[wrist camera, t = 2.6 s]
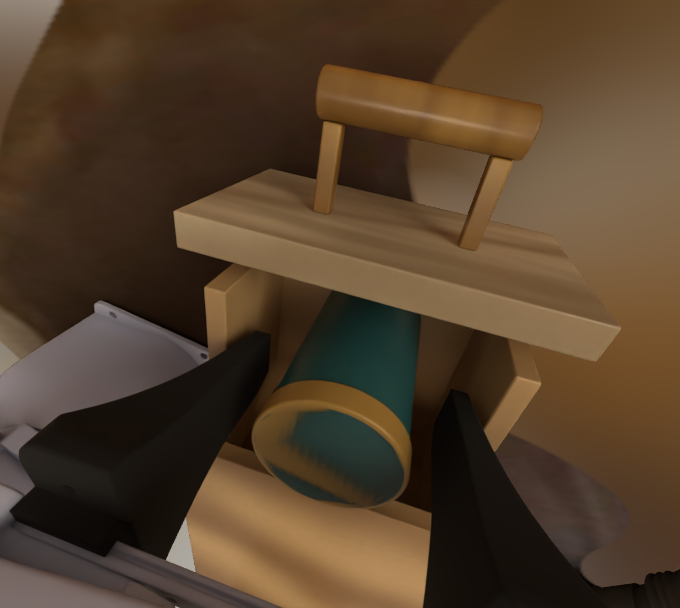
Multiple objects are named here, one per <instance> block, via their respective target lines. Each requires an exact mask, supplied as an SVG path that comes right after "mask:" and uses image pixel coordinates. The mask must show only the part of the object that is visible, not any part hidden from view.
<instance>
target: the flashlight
mask: <svg viewBox="0 0 680 608" xmlns="http://www.w3.org/2000/svg"><path fill="white" fill-rule="evenodd" d="M591 588H592V589H593V591H594V592H595V593H596V594H597V595H598V596H599V597H600V598H601V599H602V600H603V602H604V603H605V604H606V605H607V606H608V607H609V608H680V569H679V570H677V571H675V572H671V571H665V572H664V573H661V572H657V573H656V574H652V573H649V574H648V575H647V576H646V578H645V584H642V585H639V584H636V583H632V584H625V585H617V586H610V587H603V588H601V587H599V586H592V587H591Z"/></svg>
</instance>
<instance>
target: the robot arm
mask: <svg viewBox="0 0 680 608" xmlns="http://www.w3.org/2000/svg"><path fill="white" fill-rule="evenodd" d="M94 309H95V313H94V314H92V315H90V316H89V317H87V318H86V319H84V320H82V321H81V322H79V323H78V324H76V325H75V326H73V327H71V328H70V329H68V330H67V331H65V332H63V333H62V334H60V335H59V336H57V337H56V338H54V339H52V340H51V341H49V342H48V343H46V344H44V345H43V346H41V347H40V348H38V349H37V350H35V351H33V352H32V353H30V354H29V355H27V356H25V357H24V358H22V359H21V360H19V361H18V362H16V363H15V364H13V365H12V366H11V367H10V368H8V369H7V370H6V371H5V372H4V373H3V374H2V375H1V376H0V608H175V606H177V607H179V608H282V607H280V606H277V605H275V604H273V603H270V602H268V601H265V600H263V599H260V598H258V597H255V596H253V595H250V594H248V593H245V592H243V591H240V590H238V589H235V588H233V587H230V586H228V585H225V584H223V583H220V582H218V581H216V580H213V579H211V578H208V577H206V576H203V575H201V574H198V573H196V572H193V571H191V570H188V569H186V568H183V567H181V566H178V565H176V564H173V563H170V562H168V561H166V558H167V556H168V553H169V551H170V549H171V547H172V545H173V543H174V541H175V538H176V536H177V534H178V532H179V530H180V528H181V526H182V524H183V521H184V519H185V517H186V515H187V513H188V511H189V509H190V507H191V505H192V503H193V501H194V499H195V497H196V495H197V493H198V491H199V489H200V487H201V485H202V483H203V482H204V480H205V478H206V476H207V474H208V472H209V470H210V468H211V466H212V464H213V463H214V461H215V459H216V457H217V455H218V453H219V451H220V450H221V448H222V446H223V445H224V443H225V441H226V440H227V438H228V437H229V435H230V434H231V432H232V431H233V429H234V428H235V426H236V425H237V423H238V422H239V420H240V419H241V417H242V416H243V414H244V413H245V411H246V410H247V408H248V407H249V405H250V404H251V402H252V401H253V399H254V398H255V396H256V395H257V393H258V391H259V389H260V388H261V386H262V384H263V382H264V380H265V378H266V376H267V373H268V371H269V357H270V341H271V334H268V333H264V332H261V331H258V330H256V331H254V332H253V333H251V334H250V335H248V336H247V337H245V338H244V339H242V340H241V341H239V342H237V343H236V344H234V345H233V346H231V347H230V348H228V349H226V350H225V351H223V352H222V353H220V354H218V355H217V356H215V357H213V358H212V359H210V360H209V352H208V348H206V347H204V346H202V345H200V344H197V343H195V342H193V341H191V340H189V339H186V338H184V337H182V336H180V335H178V334H175V333H173V332H171V331H169V330H166V329H164V328H162V327H160V326H158V325H155V324H153V323H151V322H149V321H147V320H144V319H142V318H140V317H138V316H135V315H133V314H131V313H129V312H127V311H124V310H122V309H120V308H118V307H116V306H113V305H111V304H109V303H107V302H104V301H98V302H97V303H95V304H94ZM431 497H432V515H431V532H430V543H429V555H428V565H427V575H426V584H425V593H424V601H423V608H609V607H608V606H607V605H606V604H605V603H604V602H603V600H602V599H601V598H600V597H599V596H598V595H597V594H596V593H595V592H594V591H593V589H592V588H591V587H590V586H589V585H588V584H587V583H586V582H585V581H584V579H583V578H582V577H581V576H580V575H579V574H578V573H577V571H576V570H575V569H574V568H573V567H572V565H571V564H570V563H569V562H568V561H567V559H566V558H565V557H564V556H563V555H562V553H561V552H560V551H559V550H558V548H557V547H556V546H555V545H554V543H553V542H552V541H551V539H550V538H549V537H548V535H547V534H546V533H545V531H544V530H543V529H542V527H541V526H540V525H539V523H538V522H537V521H536V519H535V518H534V517H533V515H532V514H531V512H530V511H529V509H528V508H527V507H526V505H525V504H524V502H523V501H522V499H521V497H520V496H519V494H518V493H517V491H516V490H515V488H514V486H513V485H512V483H511V481H510V480H509V478H508V476H507V475H506V473H505V471H504V469H503V467H502V466H501V464H500V462H499V460H498V458H497V456H496V454H495V452H494V450H493V448H492V446H491V444H490V442H489V440H488V438H487V436H486V434H485V432H484V430H483V428H482V425H481V423H480V421H479V419H478V416H477V414H476V412H475V409H474V407H473V404H472V402H471V400H470V397H469V395H468V393H464V392H461V391H458V390H454V389H451V390H450V392H449V394H448V396H447V398H446V400H445V402H444V404H443V406H442V408H441V410H440V412H439V414H438V416H437V418H436V420H435V422H434V427H433V435H432V445H431Z"/></svg>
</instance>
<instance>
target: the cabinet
mask: <svg viewBox="0 0 680 608" xmlns="http://www.w3.org/2000/svg"><path fill="white" fill-rule="evenodd" d="M431 515H432V513H430V512H427V511H424V510H421V509H419V508H416V507H413V506H410V505H407V504H404V503H401V502H398V501H395V500H394V501H392V502H390V503H388V504H386V505H383V506H380V507H375V508H369V509H347V508H340V507H334V506H330V505H326V504H323V503H319V502H316V501H314V500H311V499H309V498H306V497H304V496H302V495H300V494H298V493H296V492H295V491H293V490H291V489H290V488H288V487H287V486H285V485H284V484H282V483H281V482H280V481H278V480H277V479H276V478H275V477H274V476H273V475H271V474H270V473H269V471H268V470H267V469H266V468H265V467H264V466H263V464H262V463H261V462H260V460H259V458H258V457H257V455H256V453H255V452H253V451H250V450H248V449H245V448H242V447H239V446H236V445H233V444H230V443H227V442H225V443H224V445H223V446H222V448H221V450H220V451H219V453H218V455H217V457H216V459H215V461H214V463H213V464H212V466H211V468H210V470H209V472H208V474H207V476H206V478H205V480H204V482H203V483H202V485H201V487H200V489H199V491H198V493H197V495H196V497H195V499H194V501H193V503H192V505H191V507H190V509H189V511H188V513H187V515H186V520H187V525H188V531H189V536H190V542H191V547H192V553H193V559H194V564H195V570H196V573H198V574H201V575H203V576H206V577H208V578H211V579H213V580H216V581H218V582H220V583H223V584H225V585H228V586H230V587H233V588H235V589H238V590H240V591H243V592H245V593H248V594H250V595H253V596H255V597H258V598H260V599H263V600H265V601H268V602H270V603H273V604H275V605H277V606H280V607H282V608H423V601H424V593H425V584H426V575H427V565H428V555H429V543H430V532H431Z"/></svg>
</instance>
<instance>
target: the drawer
mask: <svg viewBox="0 0 680 608" xmlns="http://www.w3.org/2000/svg"><path fill="white" fill-rule="evenodd" d="M316 112H317V116H318V117H319V118H320V119H323V120H327V121H324V122H323V128H322V137H321V145H320V153H319V162H318V170H317V179H312V178H307V177H303V176H299V175H295V174H290V173H286V172H282V171H278V170H273V169H268V170H266V171H264V172H261V173H259V174H257V175H255V176H252V177H250V178H248V179H246V180H243V181H241V182H239V183H236V184H234V185H232V186H230V187H227V188H225V189H223V190H220V191H218V192H216V193H214V194H211V195H209V196H207V197H204V198H202V199H200V200H198V201H195V202H193V203H191V204H189V205H186V206H184V207H182V208H179V209H177V210H175V211H174V221H175V230H176V240H177V246H178V247H179V248H182V249H185V250H189V251H193V252H196V253H200V254H203V255H207V256H211V257H214V258H218V259H222V260H225V261H229V262H233V264H232V265H231V266H229V267H228V268H227V269H226V270H224V271H223V272H222V273H221V274H220V275H218V276H217V277H216V278H215V279H213V280H212V281H211V282H210V283H209V284H207V285H206V286H205V288H204V293H205V307H206V322H207V337H208V352H209V360H210V359H212V358H213V357H215V356H217V355H218V354H220V353H222V352H223V351H225V350H226V349H228V348H230V347H231V346H233V345H234V344H236V343H237V342H239V341H241V340H242V339H244V338H245V337H247V336H248V335H250V334H251V333H253V332H254V331H256V330H258V331H261V332H264V333H268V334H271V341H270V357H269V371H268V373H267V376H266V378H265V380H264V382H263V384H262V386H261V388H260V389H259V391H258V393H257V395H256V396H255V398H254V399H253V401H252V402H251V404H250V405H249V407H248V408H247V410H246V411H245V413H244V414H243V416H242V417H241V419H240V420H239V422H238V423H237V425H236V426H235V428H234V429H233V431H232V432H231V434H230V435H229V437H228V438H227V440H226V441H225V442H227V443H230V444H233V445H236V446H239V447H242V448H245V449H248V450H250V451H253V452H255V450H254V448H253V444H252V436H251V434H252V427H253V424H254V421H255V419H256V418H257V416H258V414H259V412H260V411H261V409H262V407H263V405H264V404H265V402H266V400H267V399H268V398H269V397H270V395H271V394H272V393H274V392H275V390H276V389H277V387H278V385H279V383H280V382H281V380H282V378H283V376H284V374H285V373H286V371H287V369H288V367H289V366H290V364H291V362H292V360H293V358H294V357H295V355H296V353H297V351H298V350H299V348H300V346H301V344H302V342H303V341H304V339H305V337H306V335H307V334H308V332H309V330H310V328H311V326H312V325H313V323H314V321H315V319H316V318H317V316H318V314H319V312H320V310H321V309H322V307H323V305H324V303H325V302H326V300H327V298H328V296H329V295H330V293H331V292H332V290H334V291H338V292H342V293H345V294H349V295H353V296H356V297H360V298H363V299H367V300H371V301H374V302H378V303H382V304H385V305H389V306H393V307H396V308H400V309H403V310H407V311H411V312H414V313H418V314H420V316H421V328H420V338H419V349H418V359H417V370H416V380H415V390H414V401H413V411H412V422H411V432H410V441H411V445H412V458H411V469H410V478H409V482H408V485H407V487H406V488H405V490H404V491H403V493H402V494H401V495H400V496H399V497H398V498H397V499H395V501H398V502H401V503H404V504H407V505H410V506H413V507H416V508H419V509H421V510H424V511H427V512H430V513H432V497H431V445H432V435H433V427H434V422H435V420H436V418H437V416H438V414H439V412H440V410H441V408H442V406H443V404H444V402H445V400H446V398H447V396H448V394H449V392H450V390H451V389H454V390H458V391H461V392H464V393H468V395H469V397H470V400H471V402H472V404H473V407H474V409H475V412H476V414H477V416H478V419H479V421H480V423H481V425H482V428H483V430H484V432H485V434H486V436H487V438H488V440H489V442H490V444H491V446H492V448H493V450H494V452H495V451H496V450H497V448H498V447H499V445H500V444H501V442H502V441H503V439H504V438H505V437H506V435H507V434H508V432H509V431H510V429H511V428H512V427H513V425H514V424H515V422H516V421H517V419H518V418H519V416H520V415H521V414H522V412H523V411H524V409H525V407H526V406H527V405H528V403H529V402H530V400H531V399H532V398H533V396H534V395H535V393H536V392H537V390H538V389H539V387H540V386H541V380H540V377H539V374H538V372H537V369H536V366H535V363H534V360H533V357H532V354H531V351H530V348H529V345H528V344H531V345H534V346H538V347H542V348H546V349H549V350H553V351H557V352H560V353H563V354H567V355H571V356H574V357H578V358H582V359H585V360H589V361H593V362H595V361H597V359H598V358H599V357H600V355H601V354H602V353H603V352H604V351H605V349H606V348H607V347H608V345H609V344H610V343H611V341H612V340H613V339H614V337H615V336H616V335H617V334H618V333H619V331H620V330H621V327H620V325H619V324H618V323H617V321H616V320H615V319H614V318H613V316H612V315H611V313H610V312H609V311H608V310H607V308H606V307H605V305H604V304H603V303H602V302H601V300H600V299H599V298H598V296H597V295H596V294H595V292H594V291H593V290H592V288H591V287H590V286H589V284H588V283H587V282H586V281H585V279H584V278H583V277H582V275H581V274H580V273H579V271H578V270H577V269H576V267H575V266H574V265H573V263H572V262H571V261H570V260H569V258H568V257H567V256H566V254H565V253H564V252H563V250H562V249H561V248H560V246H559V245H558V244H557V243H556V241H555V240H554V238H553V237H552V236H551V235H549V234H545V233H541V232H536V231H532V230H528V229H524V228H520V227H515V226H511V225H507V224H503V223H498V222H493V221H490V217H491V215H492V212H493V210H494V208H495V205H496V203H497V200H498V198H499V196H500V193H501V191H502V188H503V186H504V184H505V181H506V179H507V176H508V174H509V172H510V169H511V167H512V164H513V162H512V160H516V161H519V160H522V159H523V158H524V157H525V155H526V154H527V153H528V151H529V150H530V148H531V146H532V144H533V142H534V140H535V138H536V136H537V133H538V131H539V128H540V125H541V122H542V117H543V107H542V106H541V105H540V104H534V103H529V102H524V101H519V100H514V99H508V98H503V97H498V96H492V95H487V94H482V93H477V92H472V91H467V90H461V89H456V88H451V87H446V86H440V85H435V84H430V83H425V82H420V81H414V80H409V79H404V78H399V77H394V76H388V75H383V74H378V73H373V72H367V71H362V70H357V69H352V68H347V67H341V66H336V65H331V64H326V65H324V66H323V68H322V70H321V72H320V75H319V78H318V83H317V88H316ZM345 124H346V125H351V126H355V127H360V128H365V129H370V130H374V131H379V132H384V133H388V134H393V135H398V136H402V137H407V138H412V139H417V140H421V141H426V142H431V143H436V144H441V145H446V146H450V147H455V148H459V149H464V150H468V151H473V152H478V153H483V154H487V155H490V156H489V159H488V162H487V164H486V167H485V170H484V172H483V175H482V177H481V180H480V183H479V186H478V188H477V191H476V194H475V196H474V199H473V202H472V204H471V207H470V209H469V212H468V215H464V214H460V213H456V212H452V211H447V210H443V209H439V208H435V207H430V206H426V205H422V204H418V203H413V202H409V201H405V200H401V199H396V198H392V197H388V196H384V195H379V194H375V193H371V192H367V191H362V190H358V189H354V188H350V187H346V186H341V185H337V180H338V173H339V167H340V160H341V154H342V147H343V141H344V134H345V128H346V125H345Z"/></svg>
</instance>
